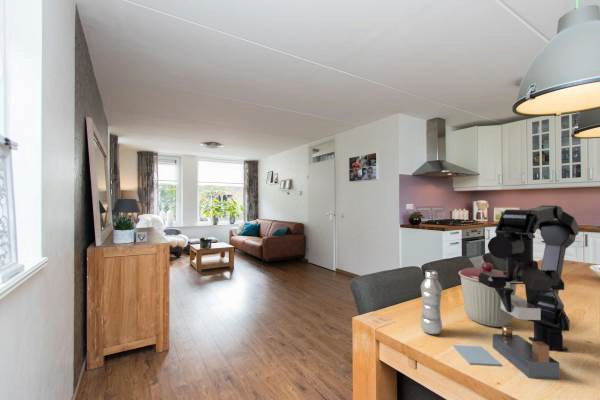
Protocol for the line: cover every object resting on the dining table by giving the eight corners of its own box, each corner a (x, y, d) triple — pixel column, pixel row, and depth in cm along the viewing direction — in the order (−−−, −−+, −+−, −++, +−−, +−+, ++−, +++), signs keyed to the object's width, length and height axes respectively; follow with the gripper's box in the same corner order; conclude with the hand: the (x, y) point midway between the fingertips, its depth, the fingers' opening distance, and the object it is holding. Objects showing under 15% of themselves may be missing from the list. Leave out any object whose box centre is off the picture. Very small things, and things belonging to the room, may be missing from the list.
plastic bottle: (435, 327, 93) (435, 269, 93) (446, 337, 86) (446, 274, 86) (416, 327, 93) (416, 269, 93) (426, 337, 86) (426, 274, 86)
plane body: (492, 346, 80) (491, 319, 80) (517, 347, 80) (516, 320, 80) (528, 377, 66) (528, 344, 66) (559, 379, 66) (559, 346, 66)
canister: (514, 317, 101) (514, 261, 102) (524, 337, 86) (524, 271, 86) (458, 307, 111) (458, 256, 111) (458, 324, 95) (458, 264, 95)
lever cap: (500, 308, 78) (500, 294, 78) (520, 309, 77) (520, 294, 77) (518, 319, 71) (518, 303, 71) (540, 320, 70) (540, 303, 70)
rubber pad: (453, 346, 81) (453, 345, 81) (481, 347, 80) (481, 346, 80) (469, 364, 72) (469, 362, 72) (501, 365, 71) (501, 364, 71)
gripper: (503, 260, 67) (503, 323, 67) (584, 262, 65) (585, 327, 65) (477, 252, 78) (477, 306, 78) (546, 253, 76) (546, 309, 76)
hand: (519, 312), depth 74 cm, fingers closed on lever cap, 5 cm apart
